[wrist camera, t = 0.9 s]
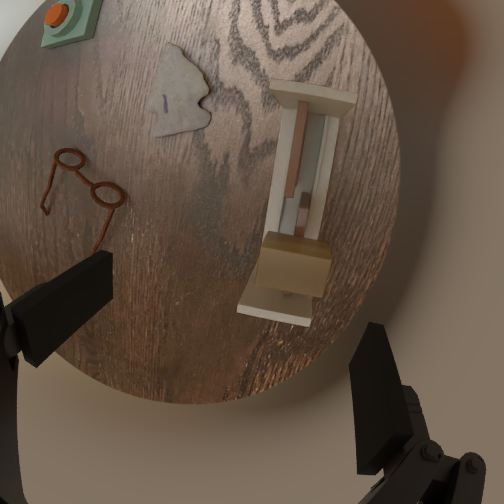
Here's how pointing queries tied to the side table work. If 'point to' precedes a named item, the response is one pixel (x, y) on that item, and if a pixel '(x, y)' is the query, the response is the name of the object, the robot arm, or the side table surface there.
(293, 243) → the pane
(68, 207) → the side table surface
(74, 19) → the button box
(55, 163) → the glasses
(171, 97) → the decorative stone
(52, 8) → the button
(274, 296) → the window frame
